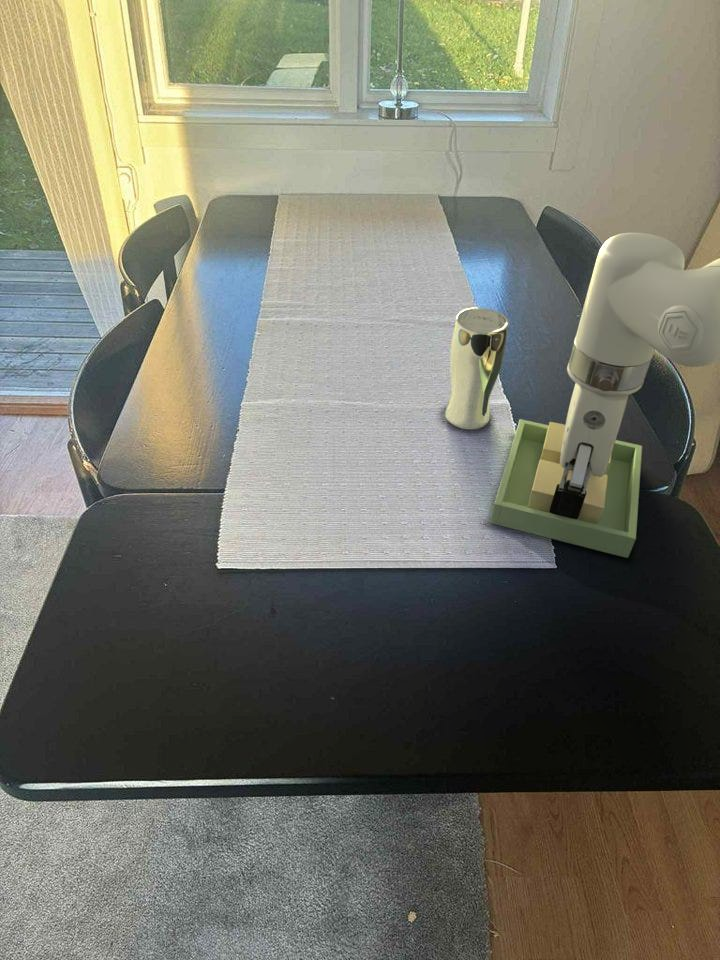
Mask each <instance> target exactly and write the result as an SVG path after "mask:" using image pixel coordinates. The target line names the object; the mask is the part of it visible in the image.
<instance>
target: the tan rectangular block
mask: <svg viewBox="0 0 720 960" xmlns="http://www.w3.org/2000/svg"><path fill="white" fill-rule="evenodd" d="M563 471H564V469H563V468H562V466H561V465H560V464H557V463H553V462H548V461H544V460H540V461H539V464H538V468H537V472H536V476H535V480H534V484H533V488H532V492H531V496H530V500H529V504H528V508H532V509H536V510H540V511H544V512H548V513H550V507H551V503H552V500H553V497H554V493H555V490H556V486H557V484H560V482H561V478H562V474H563ZM572 472H573V471H571V470H569V472H568V476H567V480H570V479H571V476H572ZM567 480H566V481H567ZM607 481H608V475H604V476H602V477H598V476H594V475H593V473H592V472H591V474H590V477H589V481H588V484H587V488H586V491H587V493H586V496H585V499H584V502H583V505H582V508H581V511H580V514H579V517H578V519H576V520H580V521H584V522H588V523H592V524H596V525H598V523H599V521H600V518H601V515H602V512H603V509H604V504H605V496H606V488H607Z"/></svg>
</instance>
